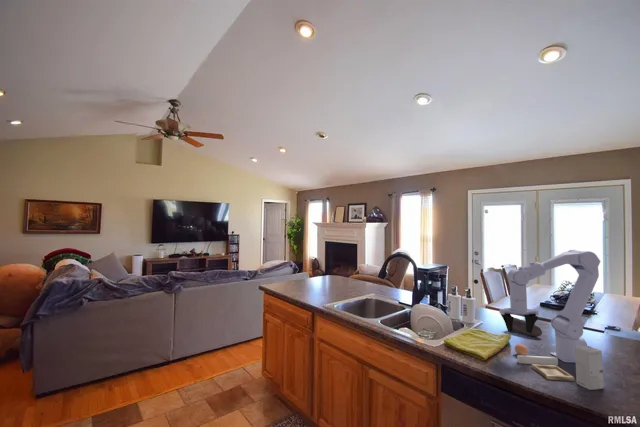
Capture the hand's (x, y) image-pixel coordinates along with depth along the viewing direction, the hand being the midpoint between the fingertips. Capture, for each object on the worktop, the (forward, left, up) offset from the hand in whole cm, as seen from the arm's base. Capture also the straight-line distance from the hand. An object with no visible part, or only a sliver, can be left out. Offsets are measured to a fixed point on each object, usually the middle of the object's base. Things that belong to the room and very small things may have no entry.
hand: (519, 332), depth 118 cm
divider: (-2, +7, -9) cm, 12 cm away
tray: (-2, +15, -9) cm, 18 cm away
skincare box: (-9, +22, -10) cm, 26 cm away
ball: (0, 0, -9) cm, 9 cm away
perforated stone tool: (-16, -26, -10) cm, 32 cm away
